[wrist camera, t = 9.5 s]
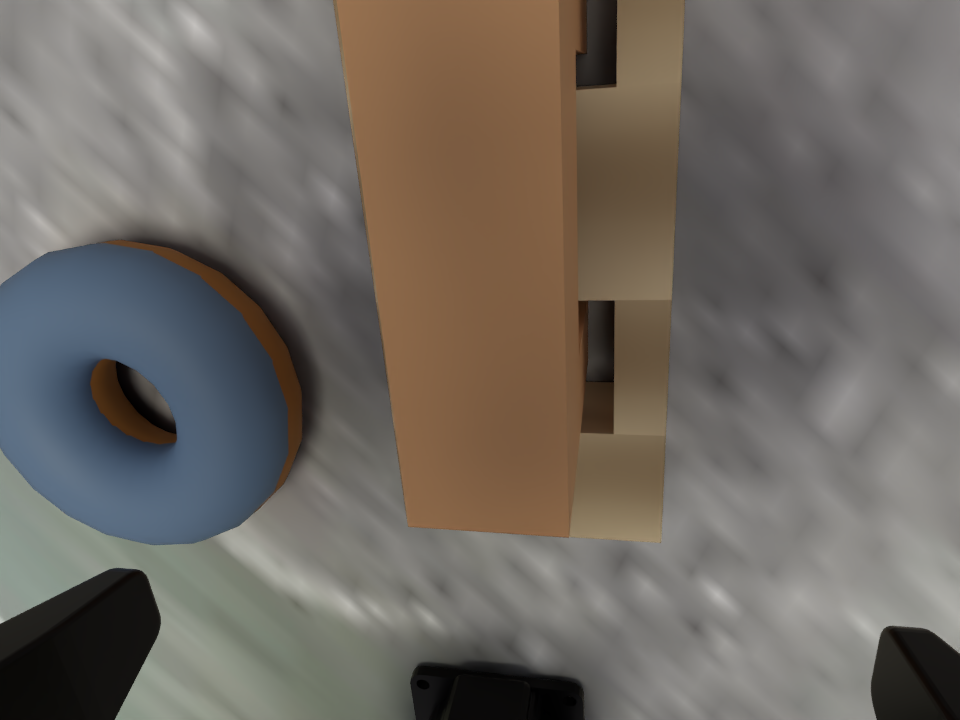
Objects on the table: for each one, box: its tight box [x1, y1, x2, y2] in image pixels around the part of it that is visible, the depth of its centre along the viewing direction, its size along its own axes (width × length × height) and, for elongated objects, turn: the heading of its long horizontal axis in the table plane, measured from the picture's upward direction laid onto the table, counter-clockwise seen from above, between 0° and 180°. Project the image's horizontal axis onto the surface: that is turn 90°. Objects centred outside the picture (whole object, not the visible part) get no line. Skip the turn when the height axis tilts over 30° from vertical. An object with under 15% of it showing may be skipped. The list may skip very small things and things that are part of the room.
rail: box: [333, 0, 685, 543], centre depth 16 cm, size 18×7×3 cm, turn 4°
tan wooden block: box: [336, 0, 588, 538], centre depth 14 cm, size 10×3×8 cm, turn 4°
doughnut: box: [0, 240, 302, 545], centre depth 20 cm, size 10×10×5 cm
